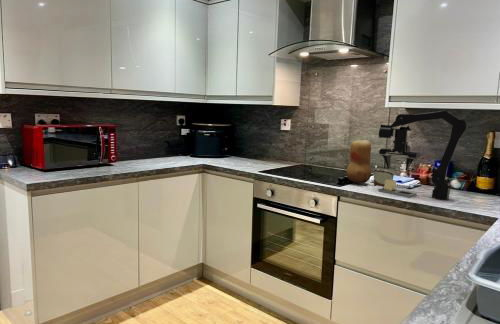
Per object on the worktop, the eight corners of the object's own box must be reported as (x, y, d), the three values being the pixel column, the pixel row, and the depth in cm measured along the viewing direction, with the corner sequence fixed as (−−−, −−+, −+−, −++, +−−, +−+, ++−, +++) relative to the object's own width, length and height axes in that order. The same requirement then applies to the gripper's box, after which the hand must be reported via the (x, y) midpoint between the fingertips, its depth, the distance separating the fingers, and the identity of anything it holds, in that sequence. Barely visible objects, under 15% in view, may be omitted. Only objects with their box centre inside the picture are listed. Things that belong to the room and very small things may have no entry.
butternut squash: (340, 182, 213) (344, 138, 209) (354, 180, 221) (358, 138, 218) (361, 187, 202) (365, 141, 199) (375, 184, 211) (379, 140, 207)
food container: (397, 189, 202) (399, 171, 201) (392, 190, 198) (394, 171, 197) (377, 184, 211) (378, 167, 210) (371, 185, 207) (373, 168, 206)
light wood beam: (395, 192, 188) (396, 180, 187) (391, 193, 185) (392, 181, 184) (387, 190, 191) (388, 179, 190) (383, 191, 188) (385, 179, 187)
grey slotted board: (416, 197, 183) (416, 193, 182) (409, 199, 177) (409, 195, 177) (385, 191, 194) (385, 187, 194) (377, 193, 188) (378, 189, 188)
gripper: (425, 140, 185) (422, 171, 187) (389, 137, 198) (386, 166, 200) (417, 140, 177) (413, 173, 179) (379, 137, 190) (377, 168, 192)
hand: (397, 170), depth 188 cm, fingers open, 9 cm apart
